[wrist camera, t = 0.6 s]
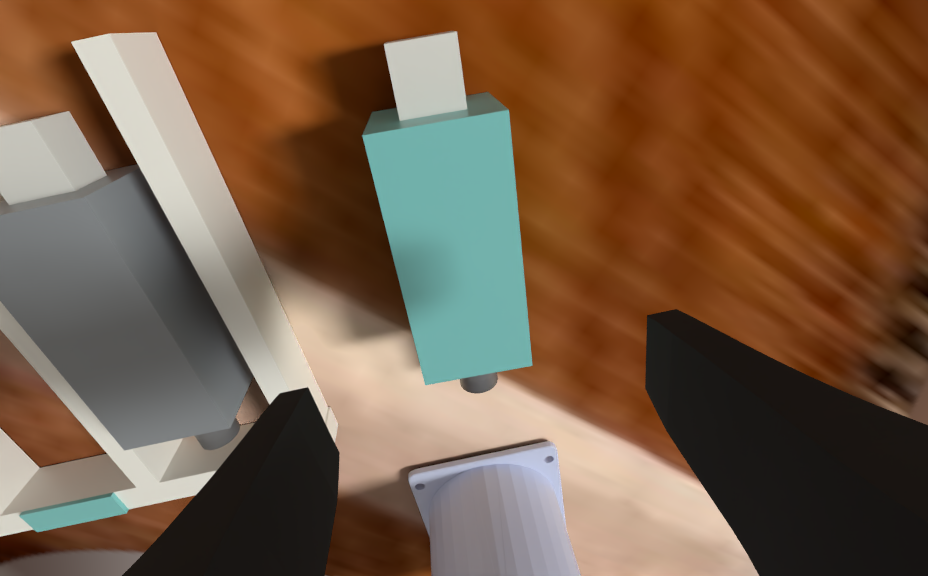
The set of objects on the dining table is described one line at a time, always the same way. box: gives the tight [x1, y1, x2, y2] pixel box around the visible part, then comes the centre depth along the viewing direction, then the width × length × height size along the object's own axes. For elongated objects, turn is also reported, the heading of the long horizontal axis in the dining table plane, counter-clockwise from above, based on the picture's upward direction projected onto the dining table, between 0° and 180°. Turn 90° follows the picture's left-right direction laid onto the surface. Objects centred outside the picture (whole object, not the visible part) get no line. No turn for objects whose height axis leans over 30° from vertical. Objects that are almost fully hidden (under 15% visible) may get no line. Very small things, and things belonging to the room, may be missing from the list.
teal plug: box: [362, 31, 532, 393], centre depth 16 cm, size 13×4×4 cm, turn 9°
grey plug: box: [0, 111, 254, 451], centre depth 16 cm, size 13×4×4 cm, turn 11°
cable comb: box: [0, 32, 338, 536], centre depth 17 cm, size 17×15×3 cm
